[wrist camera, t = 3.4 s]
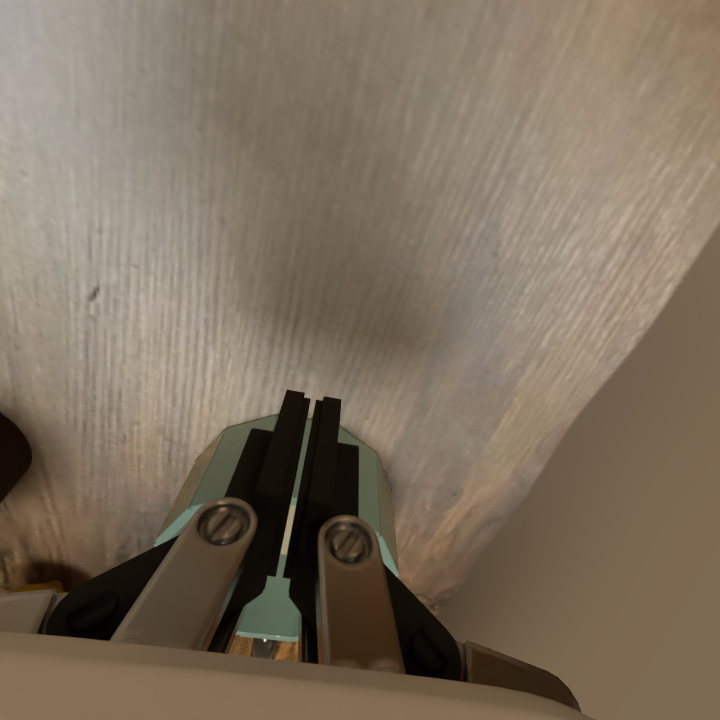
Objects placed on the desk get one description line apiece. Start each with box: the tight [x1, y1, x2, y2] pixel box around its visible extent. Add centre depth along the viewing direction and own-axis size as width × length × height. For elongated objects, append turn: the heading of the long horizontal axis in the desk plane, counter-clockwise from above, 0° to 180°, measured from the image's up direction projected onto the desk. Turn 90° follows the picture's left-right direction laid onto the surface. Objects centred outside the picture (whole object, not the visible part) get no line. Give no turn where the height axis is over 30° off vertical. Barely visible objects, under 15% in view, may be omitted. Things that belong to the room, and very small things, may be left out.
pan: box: [154, 415, 399, 659], centre depth 24 cm, size 20×12×6 cm, turn 168°
